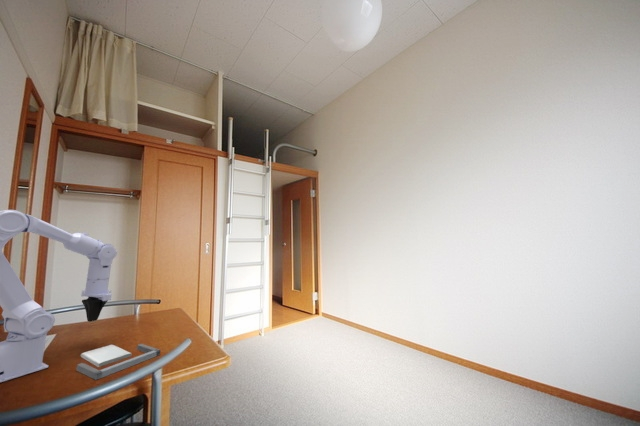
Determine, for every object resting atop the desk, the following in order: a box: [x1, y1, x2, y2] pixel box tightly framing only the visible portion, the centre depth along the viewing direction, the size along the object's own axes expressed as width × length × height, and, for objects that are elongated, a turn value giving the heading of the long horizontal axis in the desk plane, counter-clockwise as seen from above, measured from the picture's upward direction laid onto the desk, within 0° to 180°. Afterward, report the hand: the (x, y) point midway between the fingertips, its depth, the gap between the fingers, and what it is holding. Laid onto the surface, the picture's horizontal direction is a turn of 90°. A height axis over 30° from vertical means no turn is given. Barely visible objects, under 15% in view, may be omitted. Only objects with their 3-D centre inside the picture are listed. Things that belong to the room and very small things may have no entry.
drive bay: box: [76, 343, 161, 381], centre depth 72 cm, size 16×10×2 cm, turn 155°
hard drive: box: [80, 344, 133, 368], centre depth 76 cm, size 2×8×12 cm
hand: (92, 320), depth 81 cm, fingers closed
